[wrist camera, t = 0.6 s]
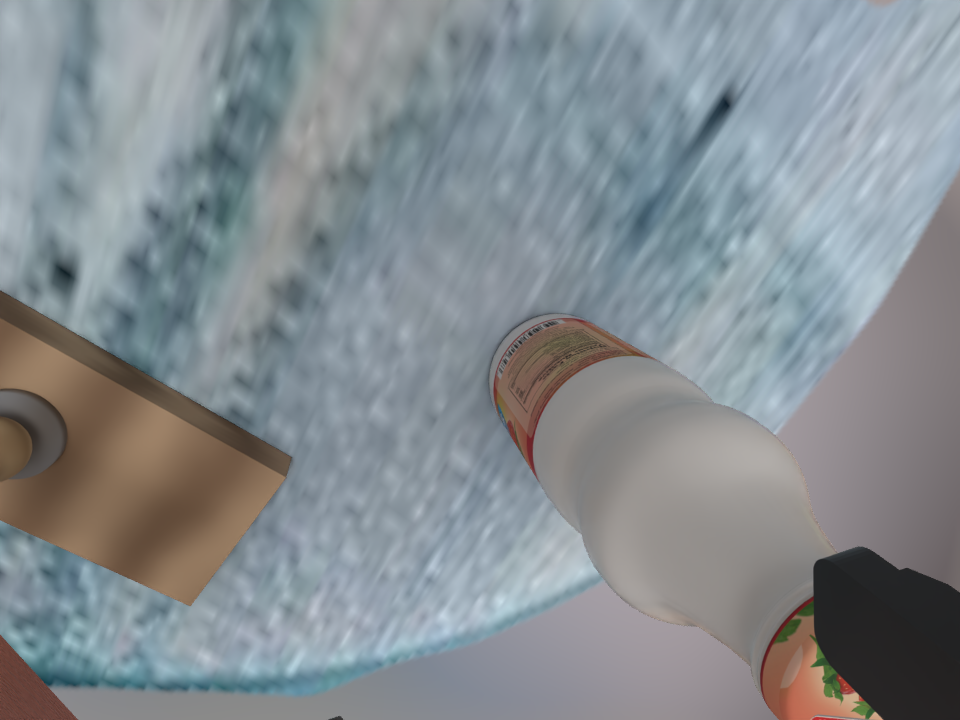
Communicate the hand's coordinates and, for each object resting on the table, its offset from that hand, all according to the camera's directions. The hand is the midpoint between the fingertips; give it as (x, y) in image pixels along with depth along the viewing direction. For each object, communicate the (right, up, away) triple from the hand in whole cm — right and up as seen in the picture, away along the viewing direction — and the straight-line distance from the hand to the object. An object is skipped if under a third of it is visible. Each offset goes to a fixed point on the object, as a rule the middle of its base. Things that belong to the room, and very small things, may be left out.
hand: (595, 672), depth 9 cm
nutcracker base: (-27, 0, +27) cm, 38 cm away
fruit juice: (+3, +4, +33) cm, 33 cm away
